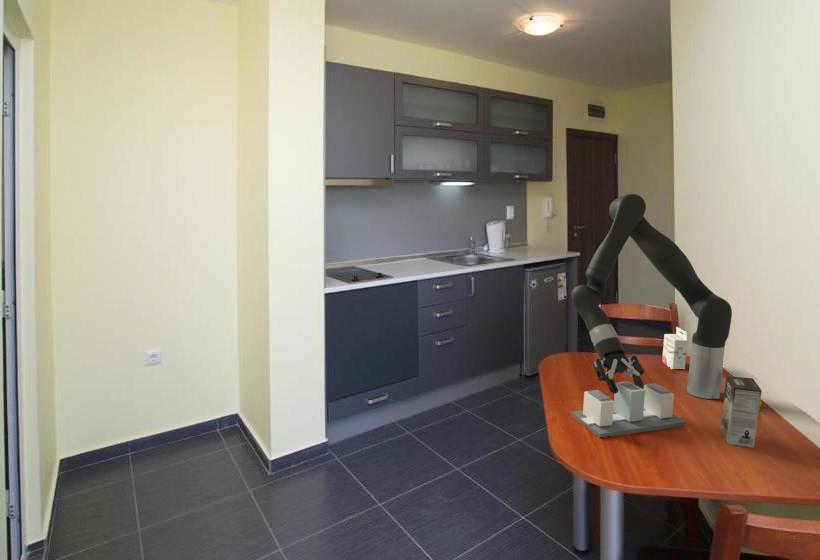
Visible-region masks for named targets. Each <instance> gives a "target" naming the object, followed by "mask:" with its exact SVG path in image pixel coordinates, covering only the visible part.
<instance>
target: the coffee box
mask: <svg viewBox="0 0 820 560" xmlns="http://www.w3.org/2000/svg"><path fill="white" fill-rule="evenodd" d="M724 387H725V388H724V393H723V395H724V396H723V403H722V412H721V419H720V420H721V421H720V430H721V433H722V435H723V437H724V439H725V442H726V443H727V444H728V445H734V446H740V447H747V448H752V449H754V448H755V443H756V437H757V427H758V422H759V421H758V420H759V415H760V414H759V413H760V406H761V401H762V400H761V399H762V392H763V391H762V389H761V388H760V386H759V384H758V383H757V382H756V380H755V379H754V378H752V377H743V376H742V377H741V376H731V375H726V379H725V386H724Z"/></svg>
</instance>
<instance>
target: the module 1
mask: <svg viewBox="0 0 820 560" xmlns="http://www.w3.org/2000/svg"><path fill="white" fill-rule="evenodd" d="M613 407H614V400H612V399H611V397H610V396H608V395H607V394H605V393H603V392H601V391H600V390H598V389H595V390H593V389H592V390H587V391H584V392H583V406H582V410H583V415H585V416H586V417H587V418H589V419H590V420H591V421H593V422H594V423H595V424H597V425H598V426H608V425H612V420H613Z"/></svg>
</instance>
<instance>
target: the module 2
mask: <svg viewBox="0 0 820 560" xmlns="http://www.w3.org/2000/svg"><path fill="white" fill-rule="evenodd" d="M644 390H645V399H644V409H645V410H647V411H649V412H650V413H652V414H654V415H655V416H657V417H659V418H660V419H661V418H668V417H672V415H673V414H674V413H673V411H674V402H675V393H673V392H671V390H669V389H668V388H665V387H664V386H662V385H660V384H658V383H656V382H655V383H647V384H644Z"/></svg>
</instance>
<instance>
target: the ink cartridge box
mask: <svg viewBox="0 0 820 560" xmlns="http://www.w3.org/2000/svg"><path fill="white" fill-rule="evenodd" d="M675 329H676V332H675V333H665V334H663V335H664V336H663V346H662V347H663V349H662V358H661V359H662V360H661V363H662V362H663V365H666V366H667V367H668V368H669V367H670V368H669V369H670V370H672V369H684V370H685V369H686V359H687V350H688V332H687V331H685V330H684V329H682V328H680V327H679V326H676V327H675Z"/></svg>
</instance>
